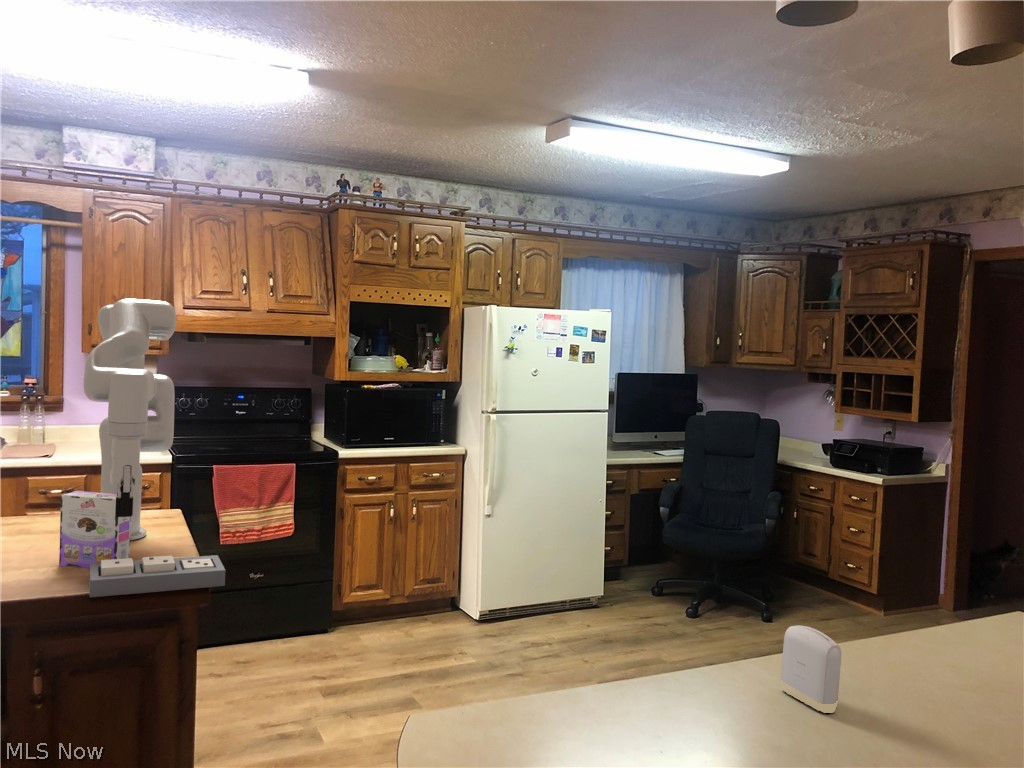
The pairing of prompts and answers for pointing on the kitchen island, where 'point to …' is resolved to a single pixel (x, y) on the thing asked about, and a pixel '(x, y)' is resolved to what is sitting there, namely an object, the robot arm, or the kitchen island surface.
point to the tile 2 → (158, 564)
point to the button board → (156, 578)
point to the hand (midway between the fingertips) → (123, 515)
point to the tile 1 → (117, 566)
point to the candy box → (91, 529)
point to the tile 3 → (196, 564)
